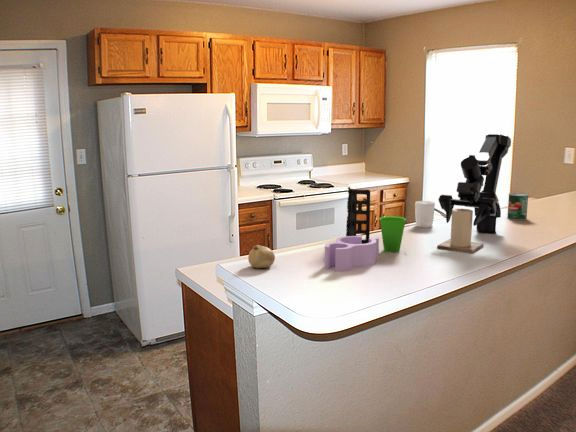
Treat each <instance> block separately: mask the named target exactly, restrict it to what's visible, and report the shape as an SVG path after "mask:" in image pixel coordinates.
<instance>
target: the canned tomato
mask: <svg viewBox="0 0 576 432" xmlns="http://www.w3.org/2000/svg"><path fill="white" fill-rule="evenodd" d="M528 203H529V194H528V193H524V192H510V193H508V202H507V204H508V207H507V219H508V220H512V221H526V220H528V219H527V218H528V215H527V214H528Z"/></svg>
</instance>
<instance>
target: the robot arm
mask: <svg viewBox="0 0 576 432" xmlns="http://www.w3.org/2000/svg"><path fill="white" fill-rule="evenodd" d="M484 139H485V140H484V142H483V144H482V146H481V147H480V150H479V151H478V153H477V154H476V155H474V154H472V155H471V154H469V155H468V157H466V158H464V159H462V160H461V162H460V167H461V171H462V173H463V177H464V179H466V180H465V182H463V181H462V182H461V181H460V182H457V186H456V187H457V188H456V193H458V194H457V197H458V199H456V198H453V196H452V195H451V194H440V195H439V197H438V199H437V200H438V203H439V205H440V208H441V209H442V210H444V212H445V217H446V219H445V220H446V221H445V222H446V223H447V224H448V223H449V222H450V220H451V219H452V210H453V209H454V208H455V206H458V207H459V206H460V207H466V208H473V209H474V216H475V218H474V220H473V222H472V226H474V227H475V226H476V231H477V232H478V233H482V234H484V233H487V234H496V233H497V231H496V228H497V227H496V226H497V219H498V218H501V217H502V210H501V206H500V202H499V198H498V195H497V194H496V193H497V187H498V182H499V177H500V172H501V167H502V166H501V165H502V160H503V158H504V157H505V156H506V155H507V154H508V153H509V149H510V147H511V145H512V139H511V138H510V136H508V135H503V134H501V133H497V132H496V133H495V132H488V133H487V134H485V138H484ZM484 176H485V177H484ZM482 188H483V190H482Z"/></svg>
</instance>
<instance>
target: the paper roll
mask: <svg viewBox="0 0 576 432" xmlns="http://www.w3.org/2000/svg"><path fill="white" fill-rule="evenodd" d="M473 213H474V210H472V209H468V208H453V209H452V215H451V225H450V226H451V228H450V239H451V242H450V244H451V245H453V246H459V247H467V246H470V245H471V242H472V229H473Z"/></svg>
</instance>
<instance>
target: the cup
mask: <svg viewBox="0 0 576 432" xmlns="http://www.w3.org/2000/svg"><path fill="white" fill-rule="evenodd" d="M378 219H379V220H378V221H380V230H381V239H382V245H383V250H384V252H386V253H393V254H394V253H399V252H400V250H401V245H402V242H403V241H402V240H403V235H404V229H405V226H406V225H405V224H406V221H407V218H405V217H401V216H394V215H393V216H392V215H391V216H389V215H388V216H381V217H379V218H378Z"/></svg>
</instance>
